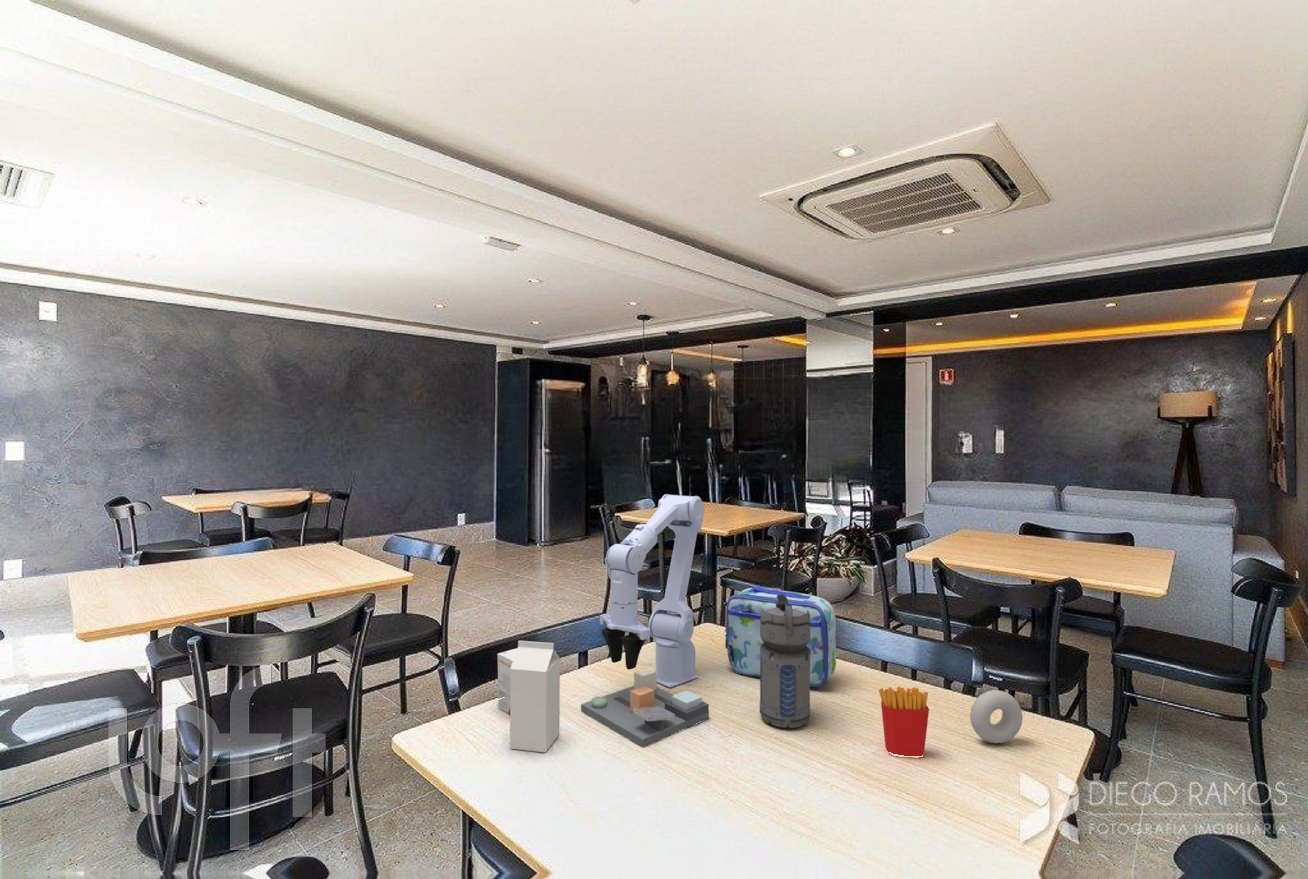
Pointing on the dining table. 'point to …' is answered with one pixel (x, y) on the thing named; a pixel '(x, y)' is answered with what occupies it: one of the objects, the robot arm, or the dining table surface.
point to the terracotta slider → (641, 698)
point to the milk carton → (534, 696)
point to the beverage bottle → (785, 665)
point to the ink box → (504, 678)
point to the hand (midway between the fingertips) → (623, 664)
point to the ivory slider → (645, 679)
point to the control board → (642, 732)
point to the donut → (1009, 719)
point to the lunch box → (747, 641)
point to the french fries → (904, 720)
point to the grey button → (686, 700)
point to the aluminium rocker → (653, 713)
